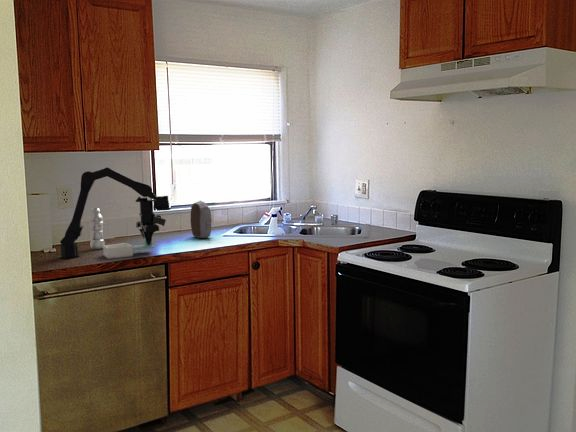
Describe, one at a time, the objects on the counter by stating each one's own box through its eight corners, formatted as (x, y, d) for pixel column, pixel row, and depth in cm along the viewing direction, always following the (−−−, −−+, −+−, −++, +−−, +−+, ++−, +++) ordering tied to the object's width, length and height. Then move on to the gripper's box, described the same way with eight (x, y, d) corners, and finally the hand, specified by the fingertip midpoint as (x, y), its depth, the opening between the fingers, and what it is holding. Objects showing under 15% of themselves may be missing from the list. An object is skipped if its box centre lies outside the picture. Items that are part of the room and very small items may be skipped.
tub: (107, 258, 245) (107, 248, 245) (103, 255, 253) (103, 245, 253) (132, 255, 251) (132, 245, 250) (128, 252, 258) (127, 243, 258)
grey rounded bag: (189, 236, 303) (188, 200, 300) (203, 235, 308) (201, 199, 305) (202, 240, 291) (201, 202, 288) (216, 238, 296) (215, 201, 293)
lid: (133, 250, 251) (133, 240, 251) (130, 247, 258) (129, 238, 257) (154, 247, 256) (153, 238, 255) (149, 245, 262) (149, 236, 262)
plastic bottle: (88, 249, 269) (85, 208, 267) (101, 247, 274) (99, 207, 271) (94, 251, 265) (91, 209, 262) (107, 249, 269) (105, 208, 267)
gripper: (169, 211, 252) (171, 245, 254) (158, 208, 268) (159, 240, 270) (145, 213, 246) (146, 248, 248) (135, 209, 263) (136, 242, 265)
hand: (148, 244), depth 258 cm, fingers closed on lid, 3 cm apart
